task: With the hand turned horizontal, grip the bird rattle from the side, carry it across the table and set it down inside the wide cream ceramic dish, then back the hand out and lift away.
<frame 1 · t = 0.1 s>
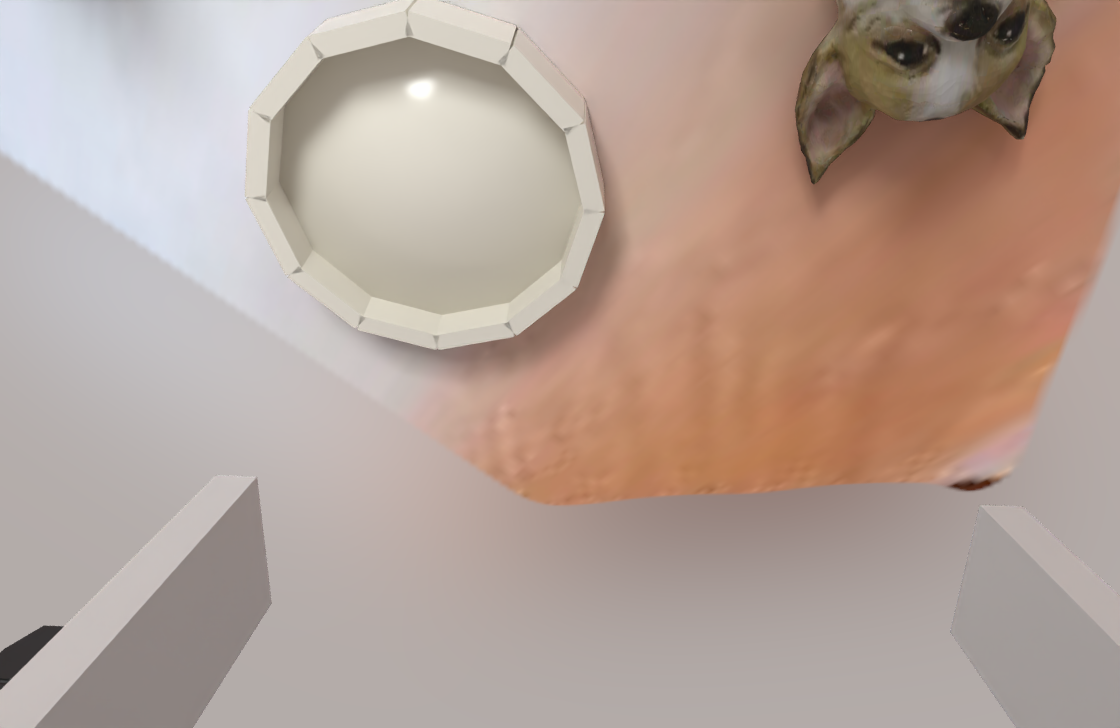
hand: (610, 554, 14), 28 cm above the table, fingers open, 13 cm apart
cream dish: (434, 179, 39), on the table
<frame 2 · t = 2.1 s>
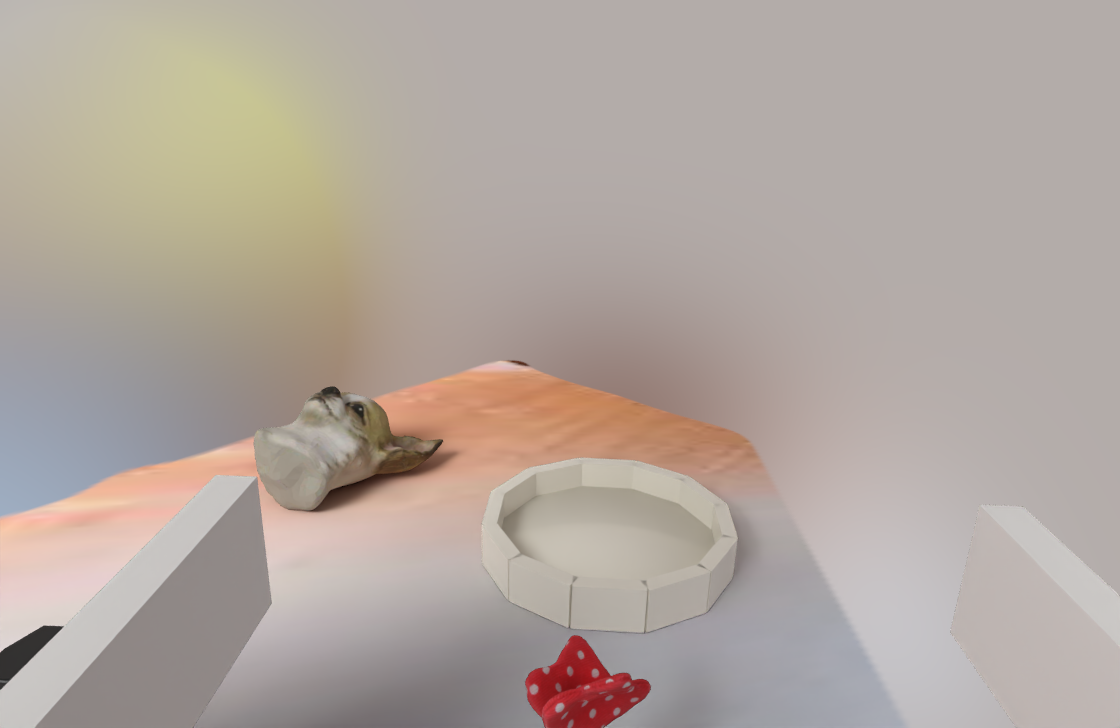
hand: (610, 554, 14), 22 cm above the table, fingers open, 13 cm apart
ceramic sculpture: (341, 484, 62), on the table
cream dish: (606, 551, 53), on the table
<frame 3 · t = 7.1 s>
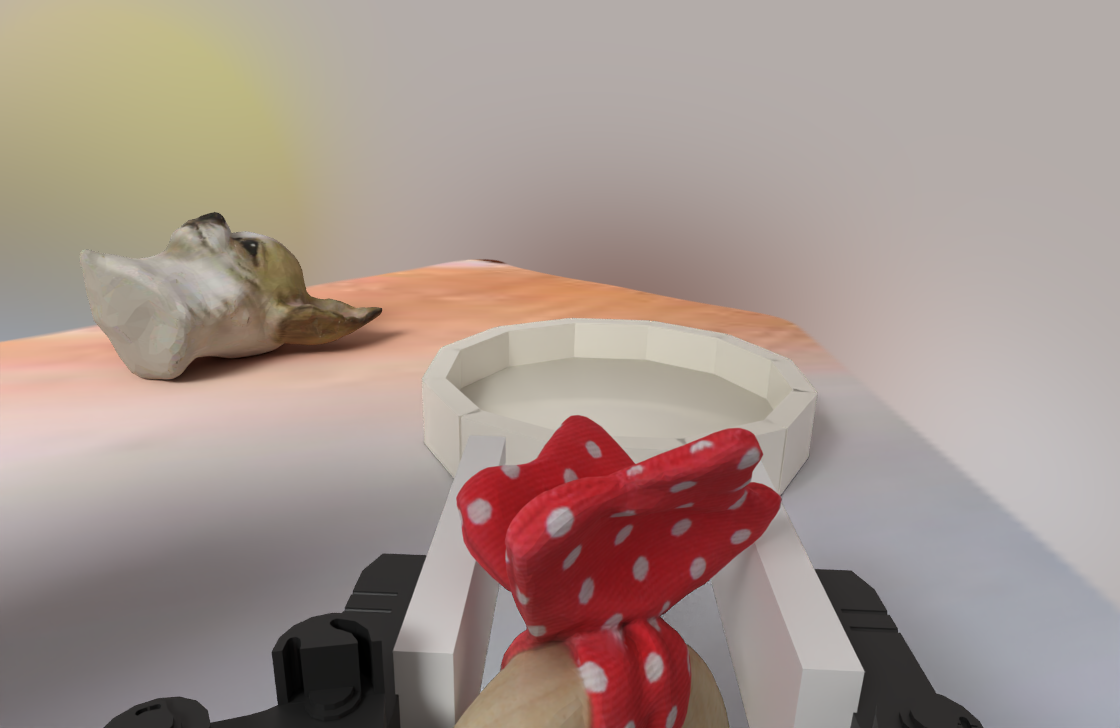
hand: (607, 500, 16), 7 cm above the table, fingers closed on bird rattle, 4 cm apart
ceramic sculpture: (235, 359, 45), on the table
cream dish: (613, 428, 36), on the table
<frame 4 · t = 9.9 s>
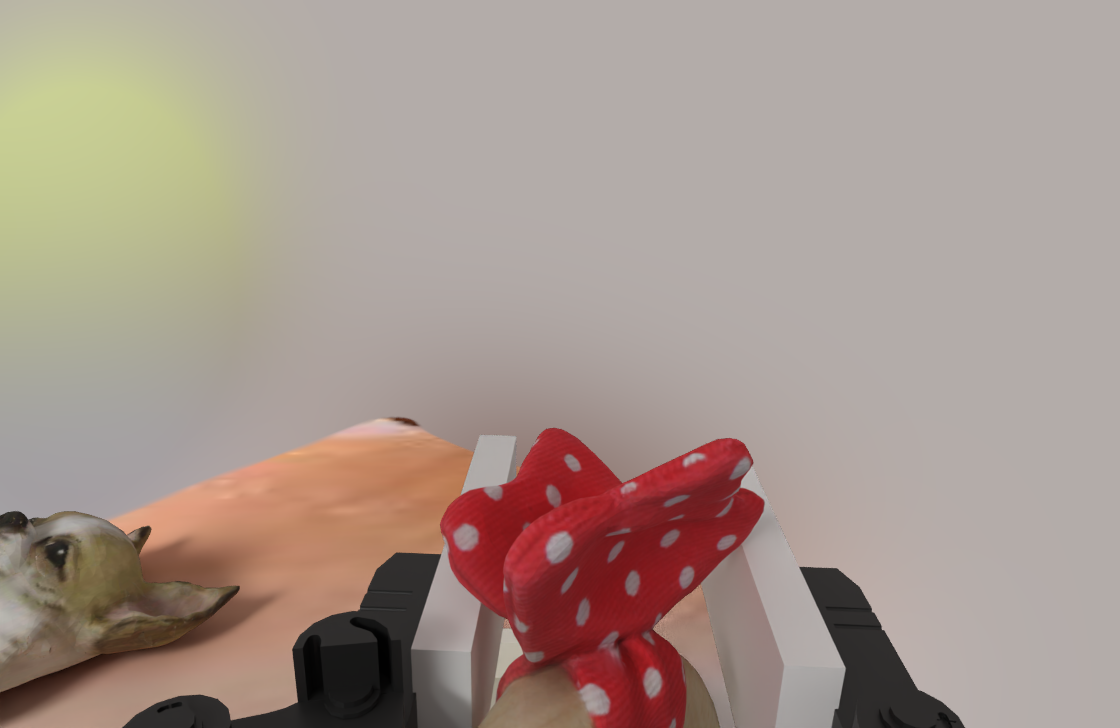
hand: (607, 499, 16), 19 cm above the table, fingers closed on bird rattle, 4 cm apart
ceramic sculpture: (55, 663, 38), on the table
when the fingers open (9 cm above the table, at t = 12.7 s): bird rattle moves 5 cm, resting on cream dish.
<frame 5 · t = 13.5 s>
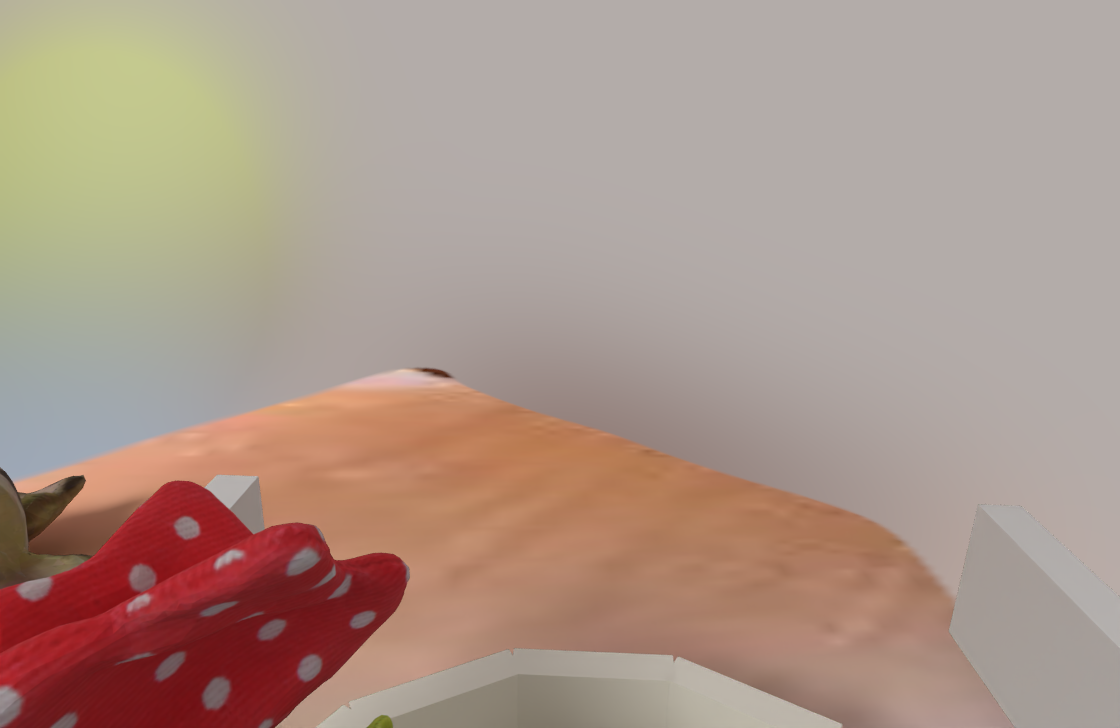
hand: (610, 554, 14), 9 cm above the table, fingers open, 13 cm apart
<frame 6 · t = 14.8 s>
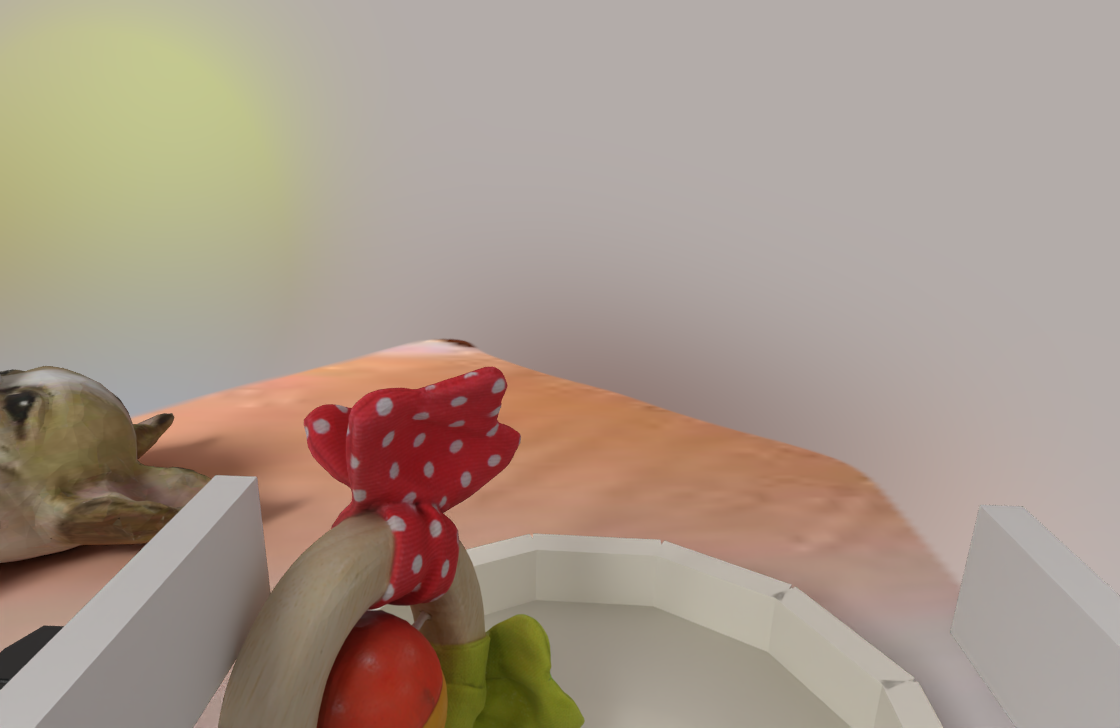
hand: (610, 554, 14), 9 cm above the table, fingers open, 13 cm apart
ceramic sculpture: (29, 554, 30), on the table
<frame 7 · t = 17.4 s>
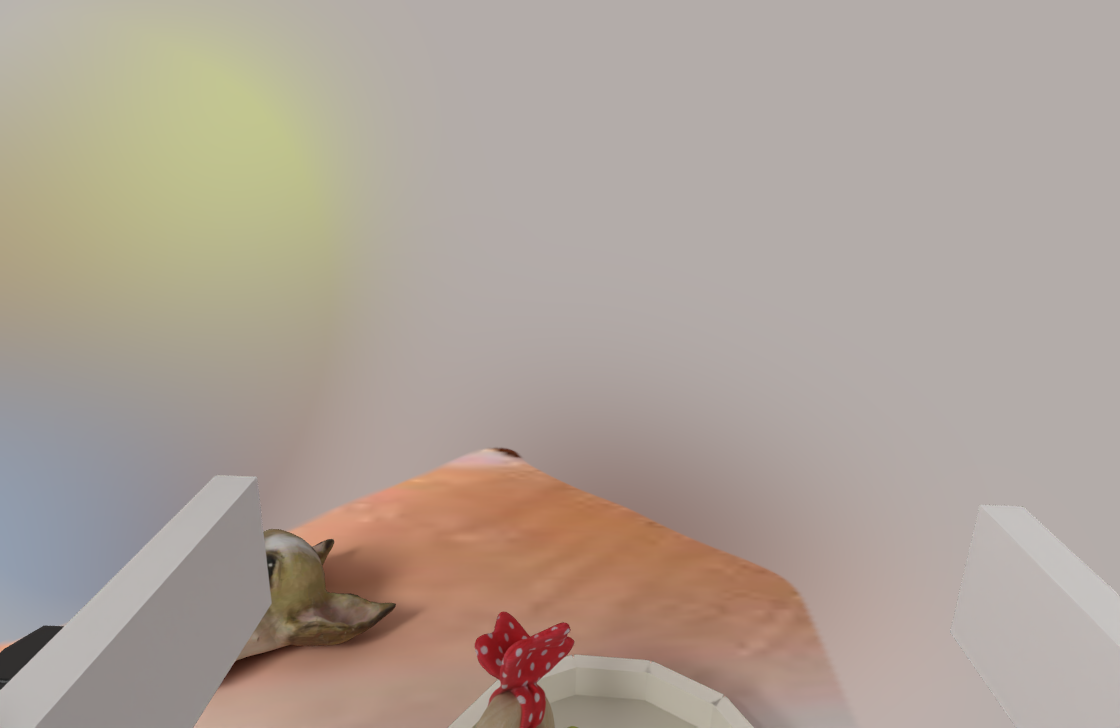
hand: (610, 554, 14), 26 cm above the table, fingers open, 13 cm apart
ceramic sculpture: (259, 644, 49), on the table
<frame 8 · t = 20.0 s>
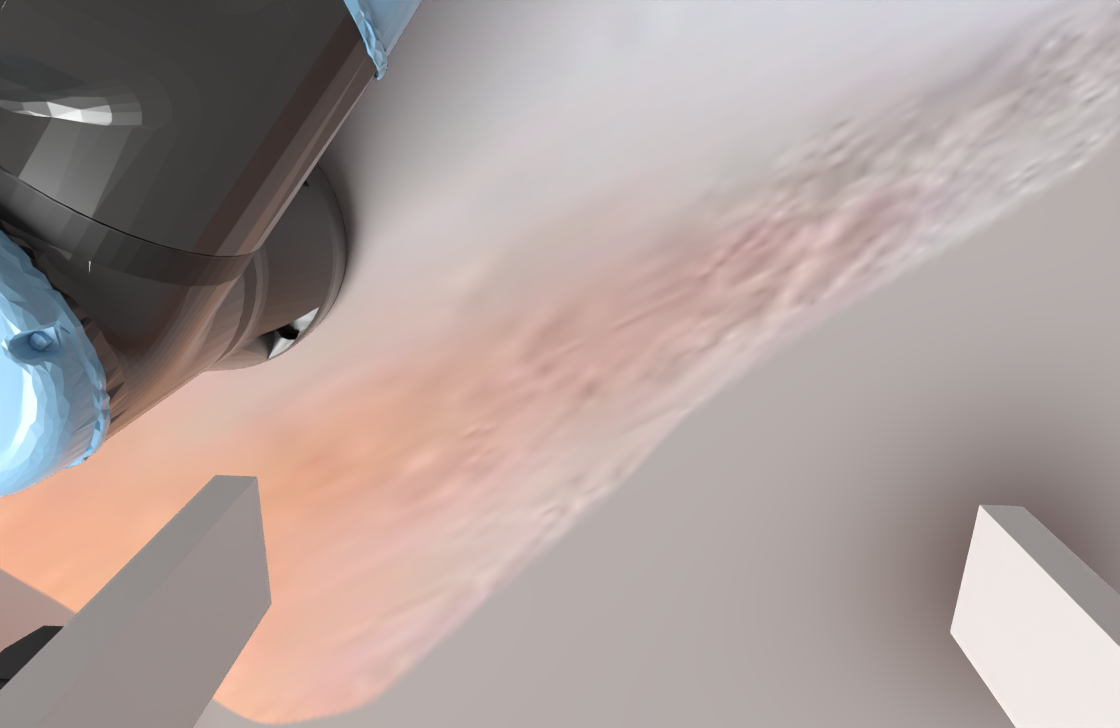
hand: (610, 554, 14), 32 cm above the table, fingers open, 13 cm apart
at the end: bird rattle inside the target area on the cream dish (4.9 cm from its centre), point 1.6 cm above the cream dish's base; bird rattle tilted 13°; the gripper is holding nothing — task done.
